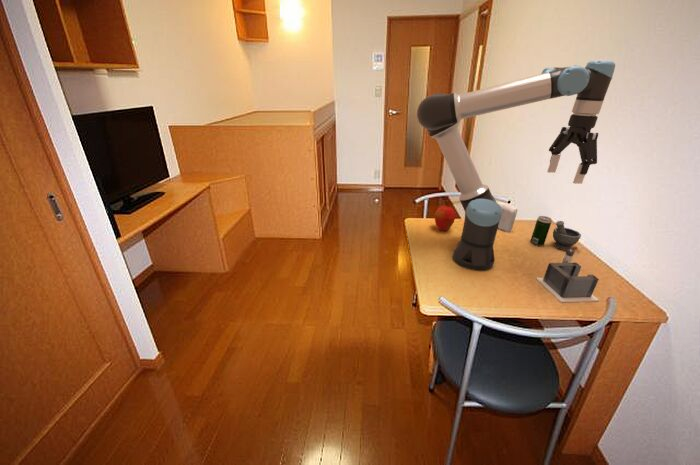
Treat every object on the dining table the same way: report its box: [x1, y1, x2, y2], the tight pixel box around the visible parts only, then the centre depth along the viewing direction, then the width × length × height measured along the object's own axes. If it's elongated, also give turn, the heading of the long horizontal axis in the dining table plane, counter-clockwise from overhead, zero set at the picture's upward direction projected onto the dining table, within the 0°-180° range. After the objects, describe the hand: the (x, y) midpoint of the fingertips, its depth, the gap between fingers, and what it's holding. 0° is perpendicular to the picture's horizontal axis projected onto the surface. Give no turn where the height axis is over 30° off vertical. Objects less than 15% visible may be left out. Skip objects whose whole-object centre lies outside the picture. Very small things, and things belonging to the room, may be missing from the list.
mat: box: [535, 277, 599, 303], centre depth 108 cm, size 13×13×1 cm
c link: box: [542, 262, 600, 298], centre depth 106 cm, size 10×10×7 cm
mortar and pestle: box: [552, 220, 582, 251], centre depth 134 cm, size 11×9×12 cm
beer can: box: [530, 215, 552, 247], centre depth 136 cm, size 5×5×12 cm
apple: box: [434, 205, 456, 232], centre depth 146 cm, size 9×9×12 cm
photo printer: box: [497, 201, 518, 233], centre depth 150 cm, size 10×4×12 cm, turn 35°
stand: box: [561, 248, 575, 263], centre depth 118 cm, size 4×4×9 cm
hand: (563, 177), depth 114 cm, fingers open, 13 cm apart
